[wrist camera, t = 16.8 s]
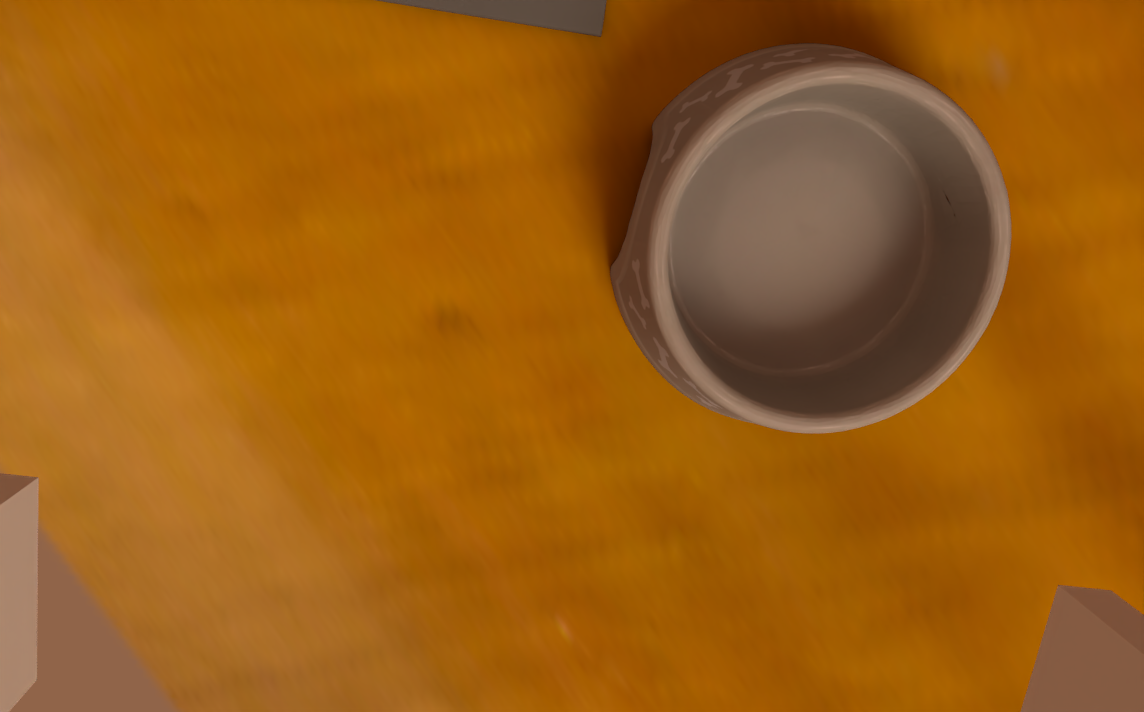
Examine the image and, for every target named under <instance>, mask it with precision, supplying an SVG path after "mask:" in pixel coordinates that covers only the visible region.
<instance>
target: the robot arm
mask: <svg viewBox="0 0 1144 712" xmlns="http://www.w3.org/2000/svg"><path fill="white" fill-rule="evenodd" d="M37 574H38V477H29V476H19V475H10V474H0V712H9V711H10V710H11V709H12V708H13V706H14V705H15V704H16V703H17V701H19V699H20V698H21V697H22V696H23V695H24V694H25V693H26V692H27V690H28V689H29V688H30V687H31V686H32V684H33V683H34V682H35V681H36V680H37V582H38V581H37V580H38V577H37V576H38V575H37ZM1021 712H1144V615H1143V614H1141V613H1140V612H1139V611H1137V610H1136V609H1135V608H1133V607H1132V606H1131V605H1129V604H1128V603H1127V602H1125V601H1124V600H1123V599H1121V598H1120V597H1119V596H1117V595H1116V594H1115V593H1113V592H1112V591H1110V590H1101V589H1091V588H1082V587H1072V586H1063V585H1058V588H1057V591H1056V594H1055V598H1054V601H1053V604H1052V608H1051V611H1050V615H1049V618H1048V621H1047V625H1046V628H1045V632H1044V635H1043V638H1042V642H1041V645H1040V648H1039V652H1038V655H1037V659H1036V662H1035V665H1034V669H1033V672H1032V676H1031V679H1030V682H1029V686H1028V689H1027V692H1026V696H1025V699H1024V703H1023V706H1022V709H1021Z"/></svg>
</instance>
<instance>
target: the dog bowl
mask: <svg viewBox="0 0 1144 712" xmlns="http://www.w3.org/2000/svg"><path fill="white" fill-rule="evenodd" d="M652 132H653V140H652V146H651V151H650V156H649V159H648V162H647V165H646V168H645V171H644V174H643V177H642V180H641V184H640V188H639V191H638V194H637V198H636V202H635V205H634V209H633V212H632V216H631V219H630V222H629V226H628V231H627V235H626V238H625V241H624V243H623V245H622V248H621V251H620V254H619V256H618V258H617V259H616V260H615V262H614V263H613V264H612V266H611V271H610V276H611V281H612V285H613V290H614V294H615V298H616V301H617V304H618V307H619V310H620V312H621V315H622V317H623V319H624V321H625V323H626V325H627V327H628V329H629V331H630V333H631V335H632V336H633V338H634V340H635V341H636V343H637V345H638V346H639V348H640V349H641V351H642V352H643V354H644V355H645V357H646V358H647V359H648V360H649V362H650V363H651V364H652V365H653V367H654V368H655V369H656V370H657V371H658V372H659V373H660V374H661V375H662V376H663V377H664V378H665V379H666V380H667V381H668V382H669V383H670V384H671V385H672V386H674V387H675V388H676V389H677V390H678V391H680V392H681V393H682V394H684V395H685V396H687V397H688V398H690V399H691V400H693V401H694V402H696V403H698V404H700V405H702V406H704V407H706V408H708V409H710V410H712V411H715V412H717V413H720V414H722V415H725V416H728V417H731V418H734V419H738V420H742V421H746V422H751V423H755V424H759V425H762V426H765V427H769V428H773V429H777V430H783V431H789V432H797V433H832V432H839V431H845V430H850V429H855V428H859V427H863V426H866V425H869V424H873V423H875V422H878V421H881V420H884V419H886V418H888V417H890V416H893V415H895V414H897V413H899V412H901V411H903V410H904V409H906V408H908V407H910V406H911V405H913V404H915V403H916V402H918V401H919V400H921V399H922V398H924V397H925V396H926V395H928V394H929V393H931V392H932V391H933V390H934V389H936V388H937V387H938V386H939V385H940V384H941V383H942V382H943V381H945V380H946V379H947V378H948V377H949V376H950V375H951V374H952V373H953V372H954V371H955V370H956V369H957V368H958V367H959V365H960V364H961V363H962V362H963V361H964V360H965V358H966V357H967V356H968V354H969V353H970V352H971V351H972V349H973V348H974V346H975V345H976V343H977V342H978V340H979V339H980V337H981V336H982V334H983V332H984V331H985V329H986V327H987V326H988V324H989V321H990V319H991V317H992V315H993V313H994V311H995V309H996V306H997V304H998V301H999V298H1000V295H1001V292H1002V289H1003V285H1004V281H1005V277H1006V273H1007V269H1008V263H1009V256H1010V245H1011V217H1010V207H1009V200H1008V194H1007V190H1006V186H1005V183H1004V180H1003V176H1002V173H1001V170H1000V168H999V165H998V162H997V160H996V158H995V156H994V154H993V152H992V150H991V148H990V146H989V144H988V142H987V141H986V139H985V137H984V136H983V134H982V133H981V132H980V130H979V129H978V127H977V126H976V125H975V123H974V122H973V121H972V119H971V118H970V117H969V116H968V115H967V114H966V113H965V112H964V110H963V109H962V108H961V107H959V106H958V105H957V104H956V103H955V102H954V101H953V100H952V99H950V98H949V97H948V96H947V95H945V94H944V93H943V92H941V91H940V90H939V89H937V88H936V87H935V86H933V85H931V84H930V83H928V82H926V81H925V80H923V79H921V78H918V77H916V76H914V75H912V74H910V73H908V72H905V71H903V70H901V69H898V68H896V67H894V66H892V65H890V64H888V63H886V62H884V61H882V60H880V59H878V58H876V57H873V56H871V55H868V54H865V53H863V52H860V51H856V50H853V49H849V48H845V47H841V46H835V45H827V44H814V43H801V44H788V45H779V46H774V47H769V48H765V49H761V50H757V51H754V52H751V53H747V54H744V55H742V56H740V57H737V58H735V59H733V60H730V61H728V62H726V63H724V64H722V65H720V66H718V67H716V68H715V69H713V70H711V71H710V72H708V73H706V74H705V75H703V76H702V77H700V78H699V79H698V80H696V81H695V82H693V83H692V84H691V85H689V86H688V87H687V88H686V89H685V90H683V91H682V92H681V93H680V94H679V95H678V96H676V97H675V98H674V99H673V100H672V101H671V102H670V103H669V104H668V105H667V106H666V107H665V108H664V109H663V110H662V112H661V113H660V114H659V115H658V116H657V118H656V119H655V121H654V123H653V125H652ZM946 196H947V198H948V200H949V201H948V200H947V198H946ZM949 202H950V203H949ZM954 214H955V215H954Z"/></svg>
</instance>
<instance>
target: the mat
mask: <svg viewBox="0 0 1144 712" xmlns="http://www.w3.org/2000/svg"><path fill="white" fill-rule="evenodd" d="M378 1H384V2H390V3H396V4H403V5H409V6H415V7H421V8H427V9H433V10H439V11H446V12H452V13H458V14H464V15H470V16H476V17H483V18H489V19H495V20H501V21H507V22H513V23H519V24H526V25H532V26H538V27H544V28H550V29H556V30H563V31H569V32H575V33H581V34H587V35H593V36H599V37H601V34H602V27H603V20H604V13H605V6H606V0H378Z"/></svg>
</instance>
